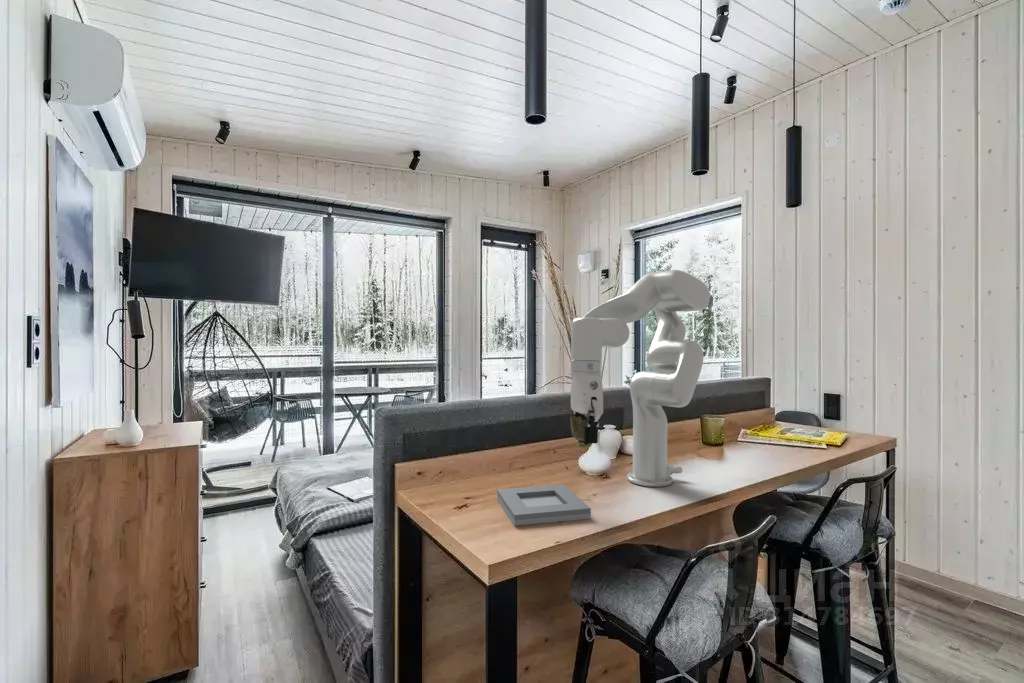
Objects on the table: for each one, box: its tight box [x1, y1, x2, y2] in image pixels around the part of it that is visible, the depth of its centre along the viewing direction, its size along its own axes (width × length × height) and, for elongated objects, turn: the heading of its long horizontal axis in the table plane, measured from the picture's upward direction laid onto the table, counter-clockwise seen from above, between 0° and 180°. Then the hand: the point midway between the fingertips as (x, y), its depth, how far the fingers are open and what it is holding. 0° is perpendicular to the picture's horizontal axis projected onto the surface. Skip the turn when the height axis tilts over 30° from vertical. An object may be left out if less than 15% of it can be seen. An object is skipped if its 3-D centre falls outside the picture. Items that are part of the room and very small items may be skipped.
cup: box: [569, 413, 601, 449], centre depth 120 cm, size 8×7×8 cm
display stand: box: [496, 484, 592, 527], centre depth 118 cm, size 18×18×2 cm
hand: (584, 439), depth 120 cm, fingers closed on cup, 7 cm apart
